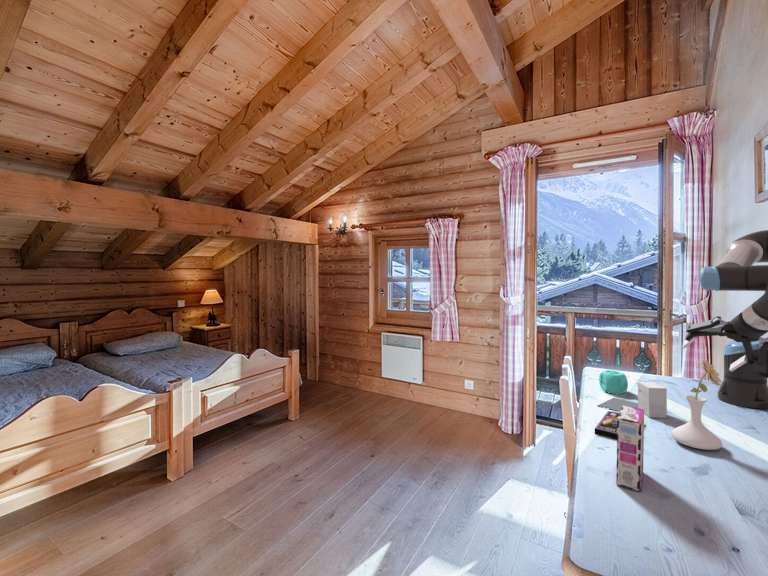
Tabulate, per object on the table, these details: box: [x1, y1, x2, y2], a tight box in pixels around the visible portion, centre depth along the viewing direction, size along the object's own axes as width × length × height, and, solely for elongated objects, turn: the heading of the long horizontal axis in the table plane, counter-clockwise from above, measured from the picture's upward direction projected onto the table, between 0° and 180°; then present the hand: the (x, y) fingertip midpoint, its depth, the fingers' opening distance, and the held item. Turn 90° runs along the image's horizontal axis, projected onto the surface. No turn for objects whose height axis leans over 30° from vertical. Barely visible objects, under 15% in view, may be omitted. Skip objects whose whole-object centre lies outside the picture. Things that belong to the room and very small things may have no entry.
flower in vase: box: [670, 358, 724, 451], centre depth 104 cm, size 13×11×25 cm
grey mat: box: [597, 397, 638, 413], centre depth 135 cm, size 14×10×1 cm
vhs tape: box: [594, 410, 620, 440], centre depth 116 cm, size 10×2×19 cm
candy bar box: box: [615, 406, 645, 493], centre depth 87 cm, size 11×5×16 cm, turn 141°
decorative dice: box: [598, 369, 629, 395], centre depth 151 cm, size 8×8×8 cm
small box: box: [637, 381, 668, 419], centre depth 127 cm, size 8×6×10 cm
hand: (707, 356), depth 119 cm, fingers open, 13 cm apart
